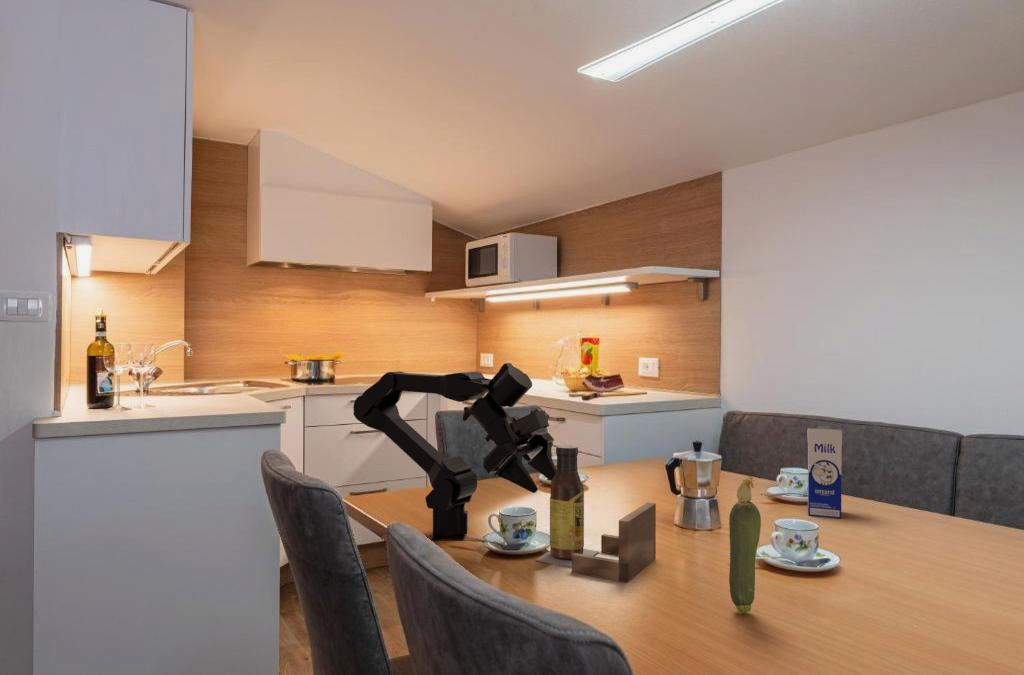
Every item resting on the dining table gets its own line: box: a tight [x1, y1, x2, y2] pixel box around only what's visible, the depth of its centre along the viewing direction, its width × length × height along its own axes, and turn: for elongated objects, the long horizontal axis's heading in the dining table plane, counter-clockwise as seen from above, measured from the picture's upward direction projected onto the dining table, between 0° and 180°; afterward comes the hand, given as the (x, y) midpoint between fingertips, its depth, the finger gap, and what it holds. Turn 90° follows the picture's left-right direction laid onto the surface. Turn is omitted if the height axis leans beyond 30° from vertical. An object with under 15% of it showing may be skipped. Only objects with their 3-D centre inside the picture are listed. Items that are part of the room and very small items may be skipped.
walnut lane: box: [571, 502, 657, 583], centre depth 122 cm, size 10×14×10 cm
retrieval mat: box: [535, 548, 600, 569], centre depth 127 cm, size 8×10×1 cm
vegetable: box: [728, 476, 762, 615], centre depth 102 cm, size 4×4×20 cm
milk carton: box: [806, 425, 843, 519], centre depth 159 cm, size 7×7×20 cm
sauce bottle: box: [549, 444, 585, 559], centre depth 127 cm, size 7×6×20 cm
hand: (547, 486), depth 129 cm, fingers open, 9 cm apart
